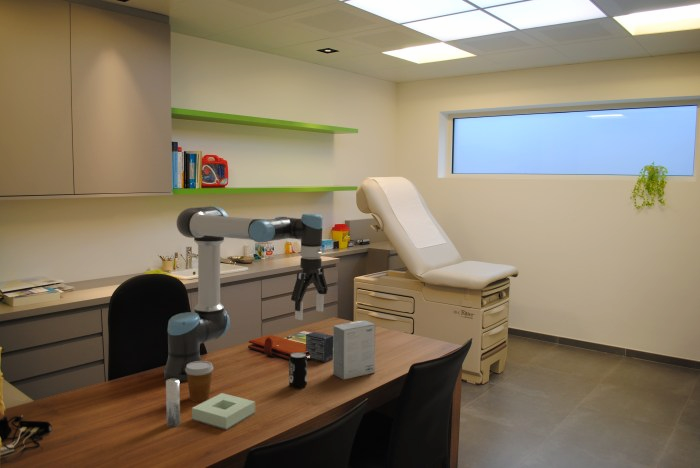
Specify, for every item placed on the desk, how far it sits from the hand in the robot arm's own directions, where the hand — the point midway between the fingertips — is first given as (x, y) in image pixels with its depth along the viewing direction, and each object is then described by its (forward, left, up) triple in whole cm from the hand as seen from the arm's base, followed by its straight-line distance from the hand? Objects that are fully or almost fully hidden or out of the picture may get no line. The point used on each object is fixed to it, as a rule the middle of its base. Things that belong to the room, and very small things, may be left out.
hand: (309, 315), depth 199 cm
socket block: (-11, -34, -28) cm, 45 cm away
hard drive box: (+7, +22, -28) cm, 36 cm away
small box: (-14, +31, -28) cm, 44 cm away
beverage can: (-5, 0, -28) cm, 28 cm away
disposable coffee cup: (-28, -27, -28) cm, 48 cm away
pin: (-21, -46, -28) cm, 57 cm away
